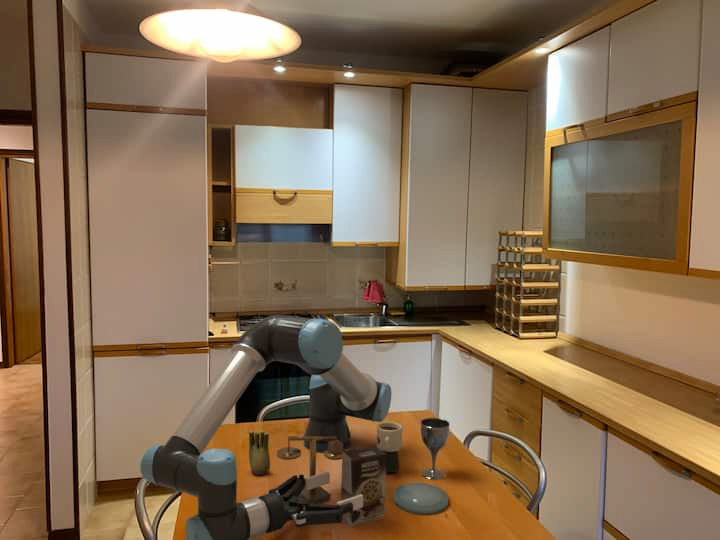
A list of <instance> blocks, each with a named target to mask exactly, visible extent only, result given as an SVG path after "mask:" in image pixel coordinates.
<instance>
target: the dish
mask: <svg viewBox="0 0 720 540" xmlns="http://www.w3.org/2000/svg"><path fill="white" fill-rule="evenodd" d="M393 502H394V504H395V506H397V507H398V508H399V509H401V510H403V511H405V512H408V513H411V514H414V515H423V516H425V515H434V514H438V513H441V512H443V511H445V510H446V509H447V508H448V506H449V495H448V492H446V491H445V490H444V489H442V488H441V487H439V486H437V485H434V484H430V483H425V482H411V483H406V484H402V485H400V486H398V487H397V488H395V490H394V491H393Z"/></svg>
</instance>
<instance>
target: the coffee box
mask: <svg viewBox="0 0 720 540" xmlns="http://www.w3.org/2000/svg"><path fill="white" fill-rule="evenodd" d="M344 450H345V451H342V459H341V484H340V485H341V489H340V501H342V500H345V499H348V498H351V497H354V496H357V495H360V494H362V495H363V507H362V508H359V509H356V510H353V511H352V512H349V513H346V514H344V515H343V519H344V520H345V521H346V522H347V524H348V525H349V526H350V527H356V526H359V525H364V524H367V523H372V522H374V521H375V522H376V521H378V520H382V519H385V515H386V514H385V510H386V480H387V478H386V476H387V475H386V474H387V472H386V453H384V452H383V451H382V450H380V449H379V448H378V447H377V445H376V446H375V444H373V445H368V446H362V447H356V448H352V449H347V450H346V449H344Z"/></svg>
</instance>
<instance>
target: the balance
mask: <svg viewBox="0 0 720 540" xmlns="http://www.w3.org/2000/svg"><path fill="white" fill-rule="evenodd" d="M304 440H310V449H309V477H311V476H314V475H317V451H316V440H334V441H330V442H328V450H326V451H325V452H323V453H324V454H323V456H324V458H326V459H328V460H332V461H334V460H335V461H340V460H341V461H342V451H345V450H346V449H344V450H343V443H342V442H340V441H339V440H337V436H304V435H303V436H297V435H296V436H295V435H294V436H292V435H291V436H288V437H287V441H288V442H287V447H282V448H280V449H278V450H277V451H276V457H277V458H279V459H281V460H285V461H287V460H288V461H289V460H290V461H291V460H296V459H297V458H300V457H301V456H302V450H301V449H299V448H297V447H294V446H293V447H290V443H291V442H293V441H295V442H296V441H297V442H299V441H304ZM290 441H291V442H290ZM331 496H332V494H331V493H330V492H329V491H327V490H326V489H325V488H323V487H322V486H319V487H316V488H313V489H310V490H305V487H304V489H303V490H302V492H301V493H300V495H299V496H298V497H299V499H301V500H303V501H308V502H309V503H312V504H324V503H325V502H326V503H327V502H329V501H331V499H332V497H331Z"/></svg>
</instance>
